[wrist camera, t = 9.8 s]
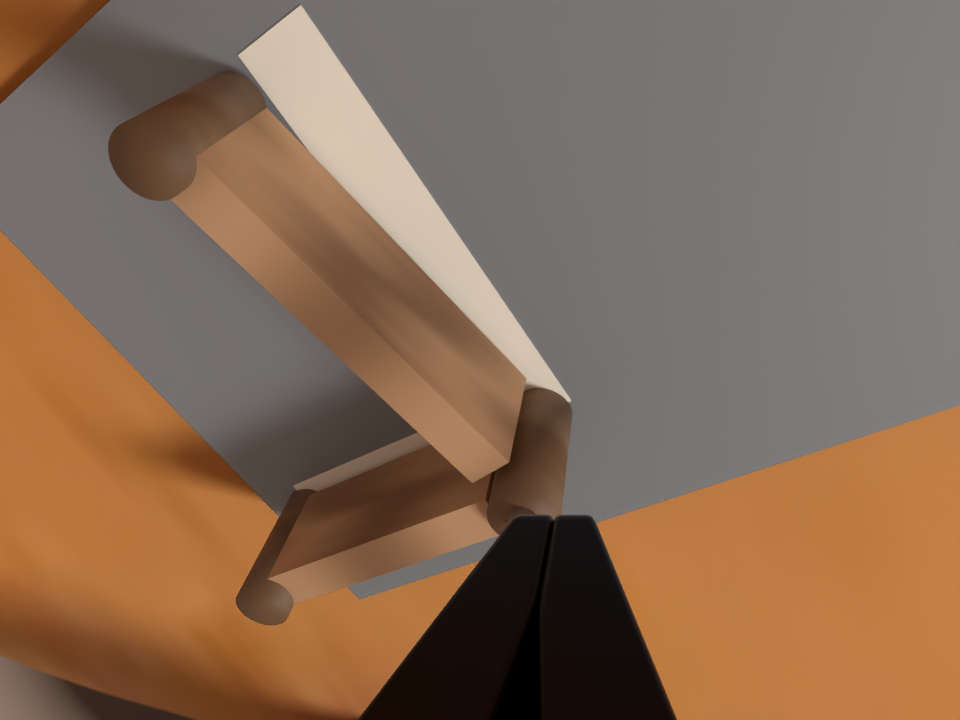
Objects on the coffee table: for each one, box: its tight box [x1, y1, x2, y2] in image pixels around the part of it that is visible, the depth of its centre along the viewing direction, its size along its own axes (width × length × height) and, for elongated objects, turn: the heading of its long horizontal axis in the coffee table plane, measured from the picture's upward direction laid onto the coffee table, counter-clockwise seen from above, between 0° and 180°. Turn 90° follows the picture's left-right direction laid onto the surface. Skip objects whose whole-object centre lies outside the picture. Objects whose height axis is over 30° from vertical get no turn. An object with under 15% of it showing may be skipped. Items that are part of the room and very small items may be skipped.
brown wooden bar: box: [108, 71, 526, 483], centre depth 18 cm, size 11×2×4 cm, turn 42°
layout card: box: [0, 0, 960, 599], centre depth 19 cm, size 24×19×1 cm
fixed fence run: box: [236, 388, 572, 625], centre depth 22 cm, size 11×2×5 cm, turn 124°
